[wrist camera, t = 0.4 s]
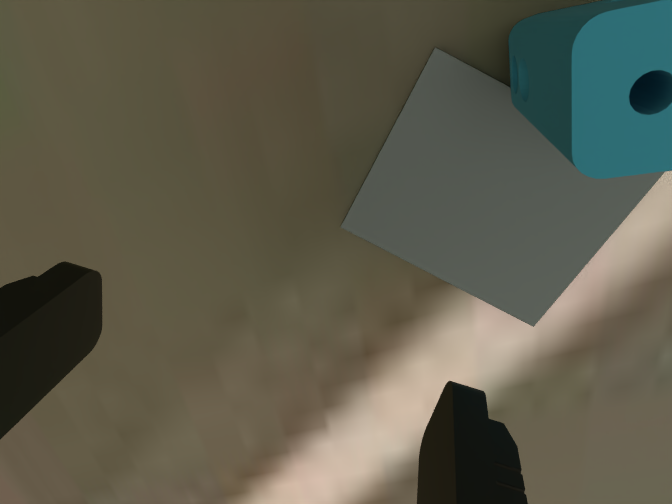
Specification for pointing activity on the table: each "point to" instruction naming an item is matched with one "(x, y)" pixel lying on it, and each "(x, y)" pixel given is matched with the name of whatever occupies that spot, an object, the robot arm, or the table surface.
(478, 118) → the mat
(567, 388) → the table surface
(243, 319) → the table surface
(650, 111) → the block
